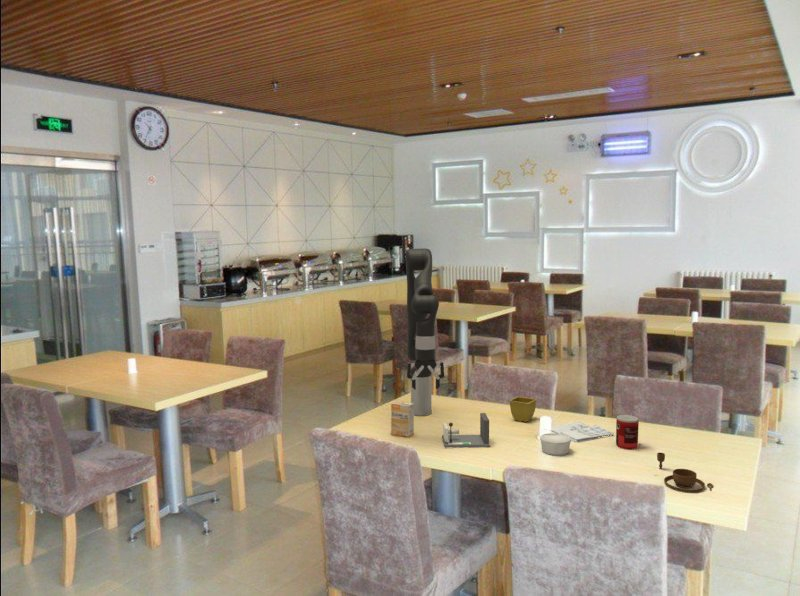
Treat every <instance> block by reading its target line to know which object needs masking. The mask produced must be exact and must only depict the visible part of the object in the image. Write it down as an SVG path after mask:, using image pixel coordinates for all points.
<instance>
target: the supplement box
mask: <svg viewBox="0 0 800 596" xmlns="http://www.w3.org/2000/svg"><path fill="white" fill-rule="evenodd" d="M390 406H391V407H390V424H391V425H390V428H391V430H390V432H391V434H392V436H397V435H401V436H400V437H404V436H406V437H405V438H410V437H412V436H414V432H415V427H414V425H415V419H414V418H415V417H414V416H415V415H414V403H411V402H405V401H401V400H395V401H393V402H391V403H390ZM391 434H390V435H391ZM411 435H412V436H411Z"/></svg>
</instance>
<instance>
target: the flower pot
mask: <svg viewBox="0 0 800 596" xmlns="http://www.w3.org/2000/svg"><path fill="white" fill-rule="evenodd" d="M536 406H537V398H531V397H524V396H516V397H514V398H511V399H510V400H509V407H510V413H511V415H512V418H513V419H514V421H516V420H518V421H517V422H522V421H524V423H526V421H527V422H529V421H530V420H532V418H533V417H534V415H535V412H536ZM528 420H529V421H528Z"/></svg>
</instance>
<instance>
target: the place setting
mask: <svg viewBox="0 0 800 596" xmlns="http://www.w3.org/2000/svg"><path fill="white" fill-rule="evenodd" d="M656 458H657V461H658V462H659V464H658V467H659V468H658V469H659V470H663V462H665V459H666V454H665V453H664V452H657V454H656ZM653 475H654V477H655V476H657V474H656V475H655V474H653ZM663 481H664V484H665V486H666V487H668V488H669V489H672V490H674V491H678V492H681V491H682V493H683V492H684V493H689V492H693V493H699V492H702V491H704V490H705V487H707V488H709V491H710V492H712V491H713V490H712V489H713V488H714V484H712V483H711V482H708V483H707V484H705V482H704V481H703V480H701V479H699V478H697V472H696V471H694V470H691V469H686V468H675V469H673V470H672V475H668V476H665V477H664V479H663ZM668 481H673V482H674V483H675V484H676V485H677V486H674V485H672V484H669V483H668ZM695 484H698V485H699V486H701V487H699V488H691V487H692V486H694V485H695Z"/></svg>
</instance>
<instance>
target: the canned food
mask: <svg viewBox="0 0 800 596" xmlns="http://www.w3.org/2000/svg"><path fill="white" fill-rule="evenodd" d="M615 422H616V425H615V428H616V429H615V444H616V446H617V448H619V447H620V449H622V448H623V450H637V448H638V446H639V424H640V423H639V418H638V417H636V416H634V415H630V414H619V415H617V416H616V421H615Z"/></svg>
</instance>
